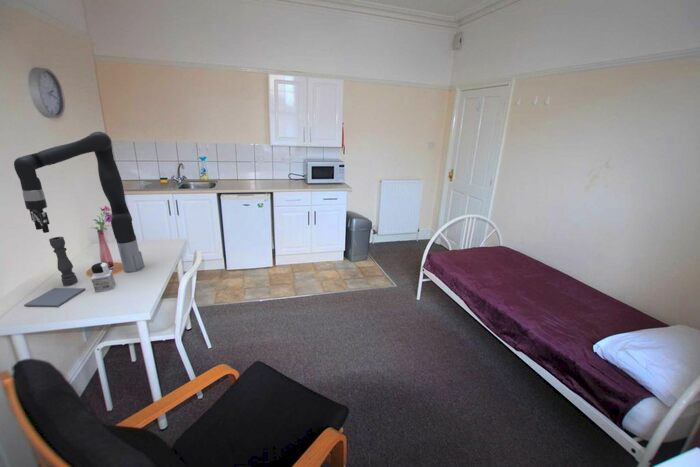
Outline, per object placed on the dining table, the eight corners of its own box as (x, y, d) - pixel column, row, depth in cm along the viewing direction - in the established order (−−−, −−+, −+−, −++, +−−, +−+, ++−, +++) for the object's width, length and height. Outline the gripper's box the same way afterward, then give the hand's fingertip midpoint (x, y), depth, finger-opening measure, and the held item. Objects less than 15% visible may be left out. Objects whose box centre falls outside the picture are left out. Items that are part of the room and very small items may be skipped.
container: (94, 292, 165) (87, 268, 161) (97, 285, 172) (90, 262, 168) (113, 288, 169) (107, 265, 164) (115, 282, 175) (109, 260, 171)
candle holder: (69, 286, 172) (54, 241, 163) (59, 285, 173) (44, 240, 164) (80, 280, 177) (67, 236, 169) (71, 279, 178) (57, 236, 170)
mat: (85, 290, 168) (85, 288, 167) (58, 307, 153) (57, 305, 152) (55, 289, 168) (54, 287, 168) (24, 306, 153) (24, 304, 153)
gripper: (50, 199, 160) (58, 231, 165) (38, 195, 167) (46, 226, 172) (30, 202, 154) (38, 235, 159) (18, 197, 161) (27, 230, 166)
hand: (42, 230), depth 165 cm, fingers open, 8 cm apart
